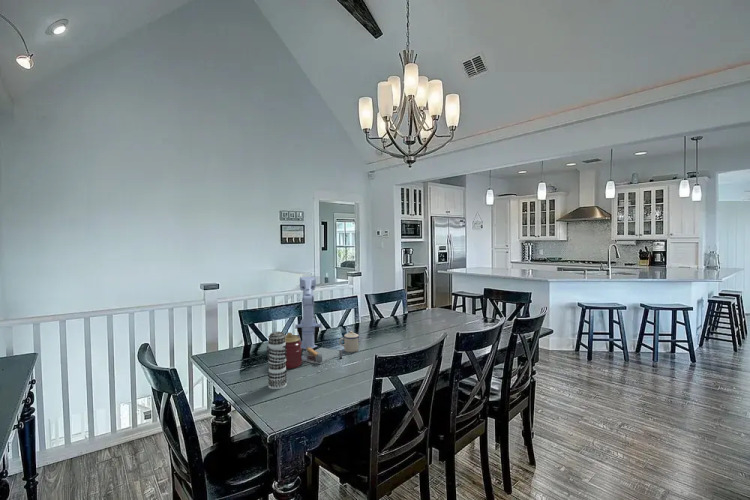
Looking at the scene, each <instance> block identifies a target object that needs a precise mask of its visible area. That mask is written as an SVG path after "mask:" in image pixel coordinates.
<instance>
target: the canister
mask: <svg viewBox="0 0 750 500" xmlns="http://www.w3.org/2000/svg"><path fill="white" fill-rule="evenodd" d="M285 335H286V336H285V342H286V345H287V347H286V349H287V351H285V352H287V354H286V355H285V356H286V357H287V358H286V362H285V366H286V369H296V368H298V367H301V365H302V364H303V361H302V356H303V355H302V353H303V351H302V350H303V348H301V344H302V342H301V341H300V337H299V335H296V334H293V333H292V332H287V334H285Z"/></svg>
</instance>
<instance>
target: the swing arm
mask: <svg viewBox="0 0 750 500" xmlns="http://www.w3.org/2000/svg"><path fill="white" fill-rule="evenodd" d="M315 350H316V349H315ZM315 350H314V348H311V347H309V346H308V347H306V349H305V351H306V352H307V351H309V352H310V353H311V354H313V355H314V356H315V357H316V362H322V354H319V353H317V352H316V351H315Z"/></svg>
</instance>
